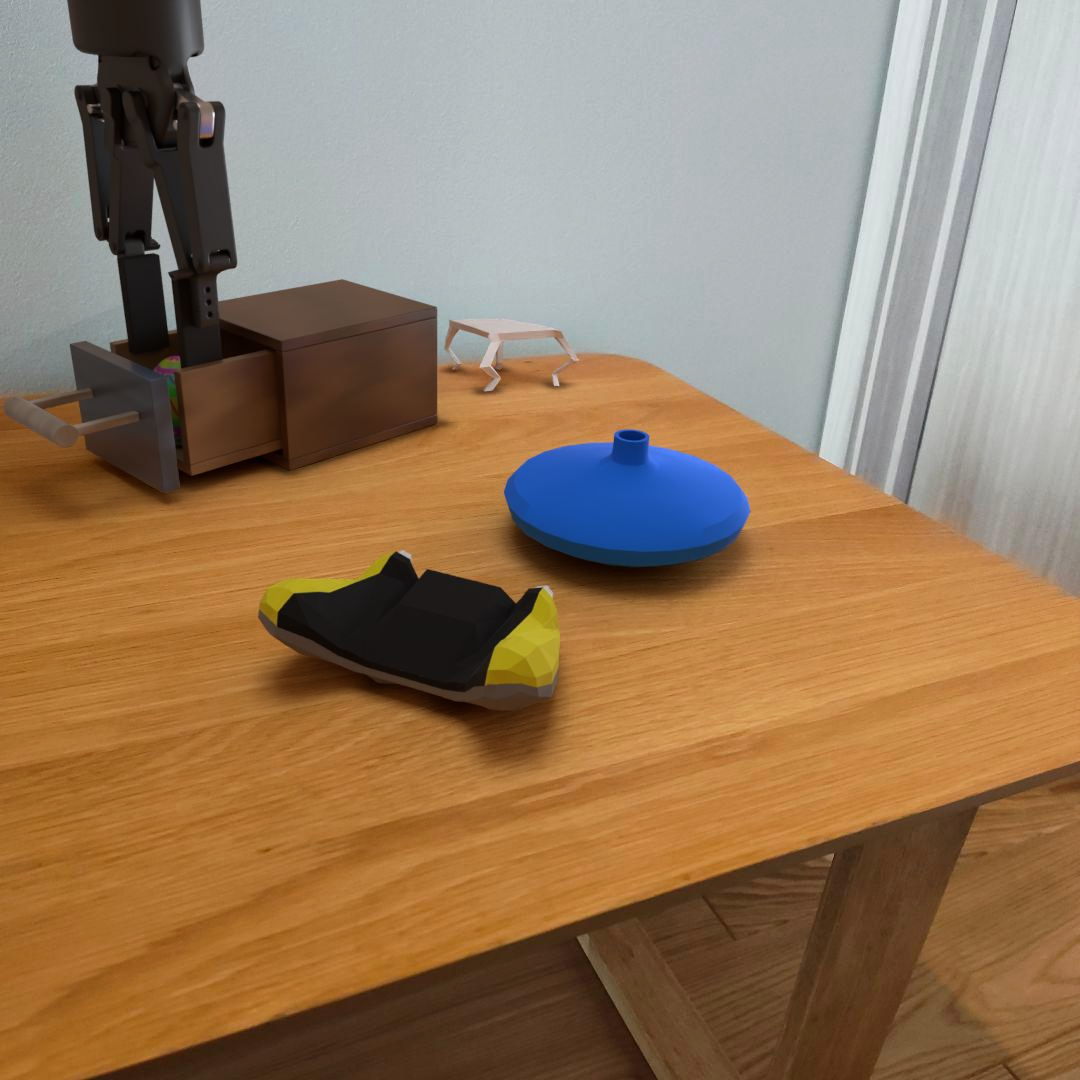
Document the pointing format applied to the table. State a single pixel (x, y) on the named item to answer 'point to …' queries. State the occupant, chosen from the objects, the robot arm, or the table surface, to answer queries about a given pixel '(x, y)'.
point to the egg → (172, 392)
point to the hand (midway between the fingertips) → (175, 359)
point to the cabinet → (342, 364)
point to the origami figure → (501, 332)
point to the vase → (626, 502)
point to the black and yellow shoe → (424, 632)
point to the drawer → (165, 409)
